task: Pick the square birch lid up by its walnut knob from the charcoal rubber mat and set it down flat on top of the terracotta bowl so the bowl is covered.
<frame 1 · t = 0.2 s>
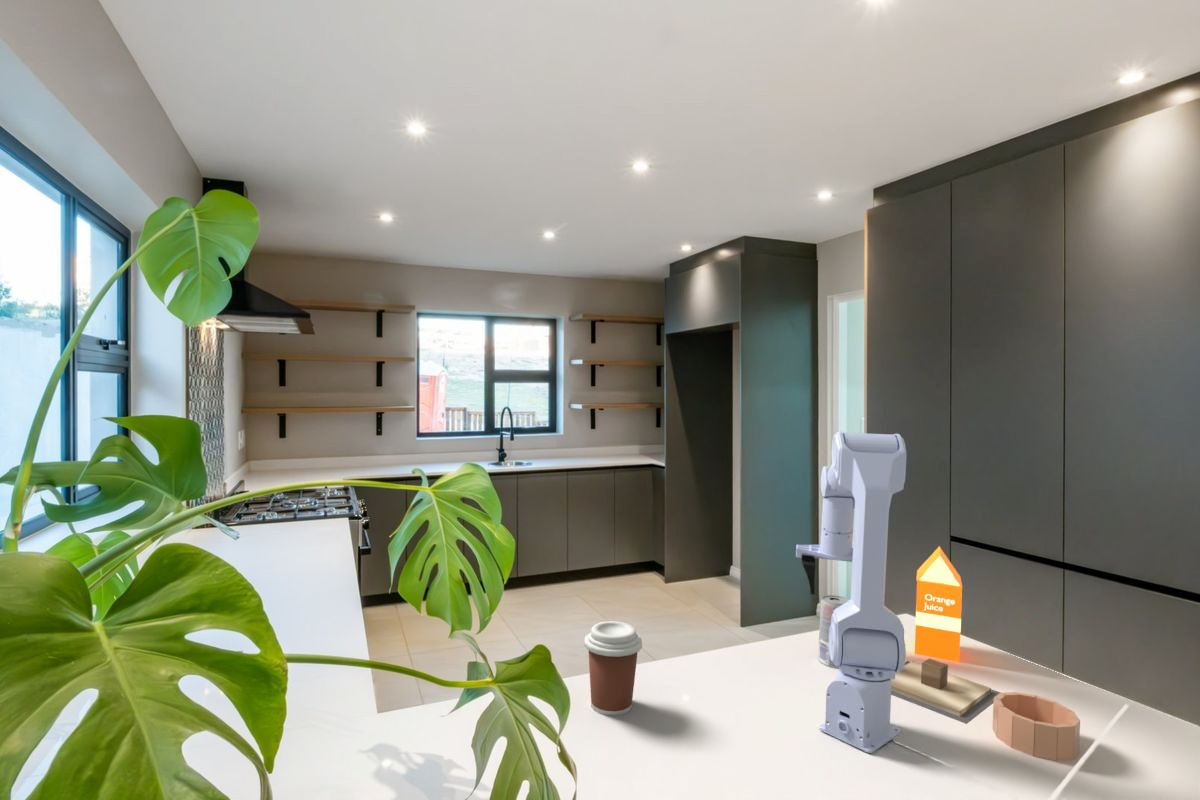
hand: (832, 594, 125), 11 cm above the counter, tool pointing down, fingers open, 7 cm apart
orange juice: (936, 653, 125), on the counter
coffee cup: (611, 706, 100), on the counter
bowl: (1034, 742, 92), on the counter
mat: (933, 691, 108), on the counter
energy drink: (833, 665, 118), on the counter
lid: (933, 688, 108), resting on mat
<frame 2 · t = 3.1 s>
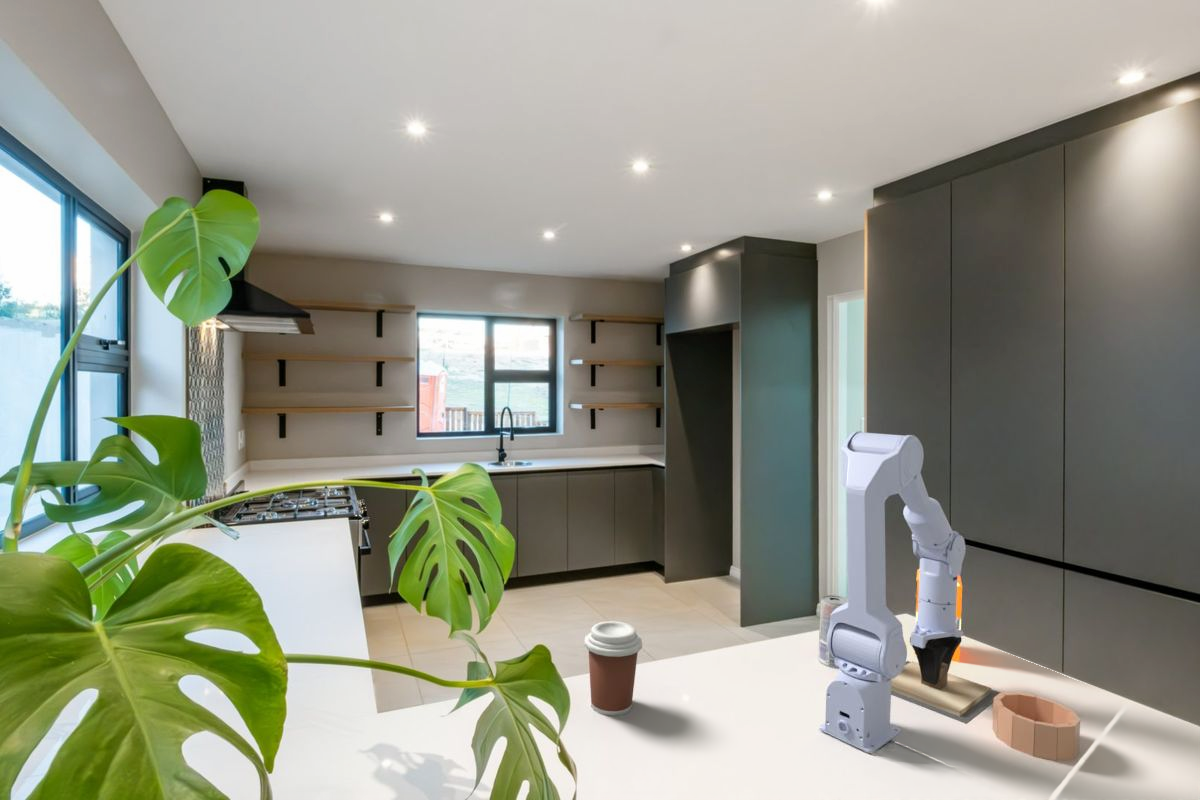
hand: (934, 679, 108), 2 cm above the counter, tool pointing down, fingers closed on lid, 3 cm apart
lid: (933, 688, 108), resting on mat, touching gripper
everything else where it was.
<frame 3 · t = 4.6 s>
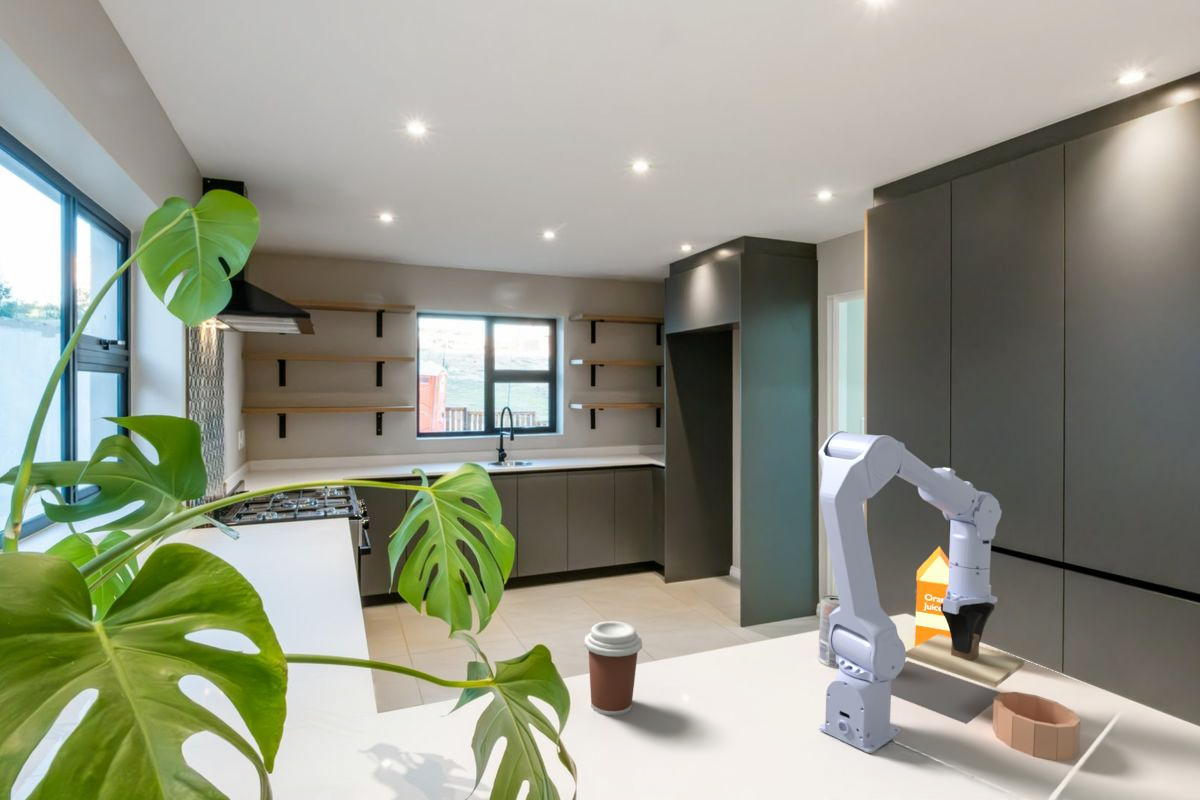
hand: (965, 648, 103), 9 cm above the counter, tool pointing down, fingers closed on lid, 3 cm apart
lid: (964, 660, 103), point 7 cm above the counter, touching gripper
everything else where it was.
when the fingers open (8 cm above the counter, at t = 6.1 s): lid stays where it is, resting on bowl.
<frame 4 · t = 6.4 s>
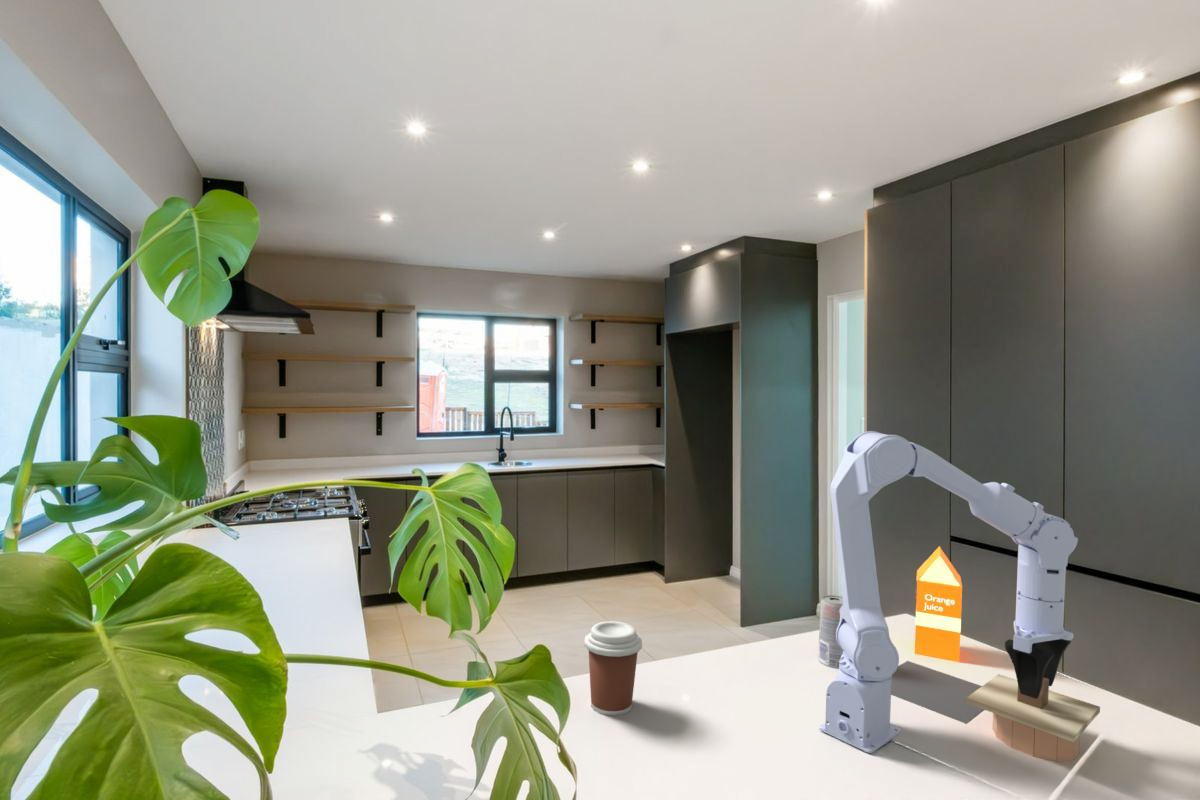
hand: (1036, 689, 92), 8 cm above the counter, tool pointing down, fingers open, 6 cm apart
bowl: (1034, 742, 92), on the counter, touching lid
lid: (1032, 707, 93), point 5 cm above the counter, touching bowl
everything else where it was.
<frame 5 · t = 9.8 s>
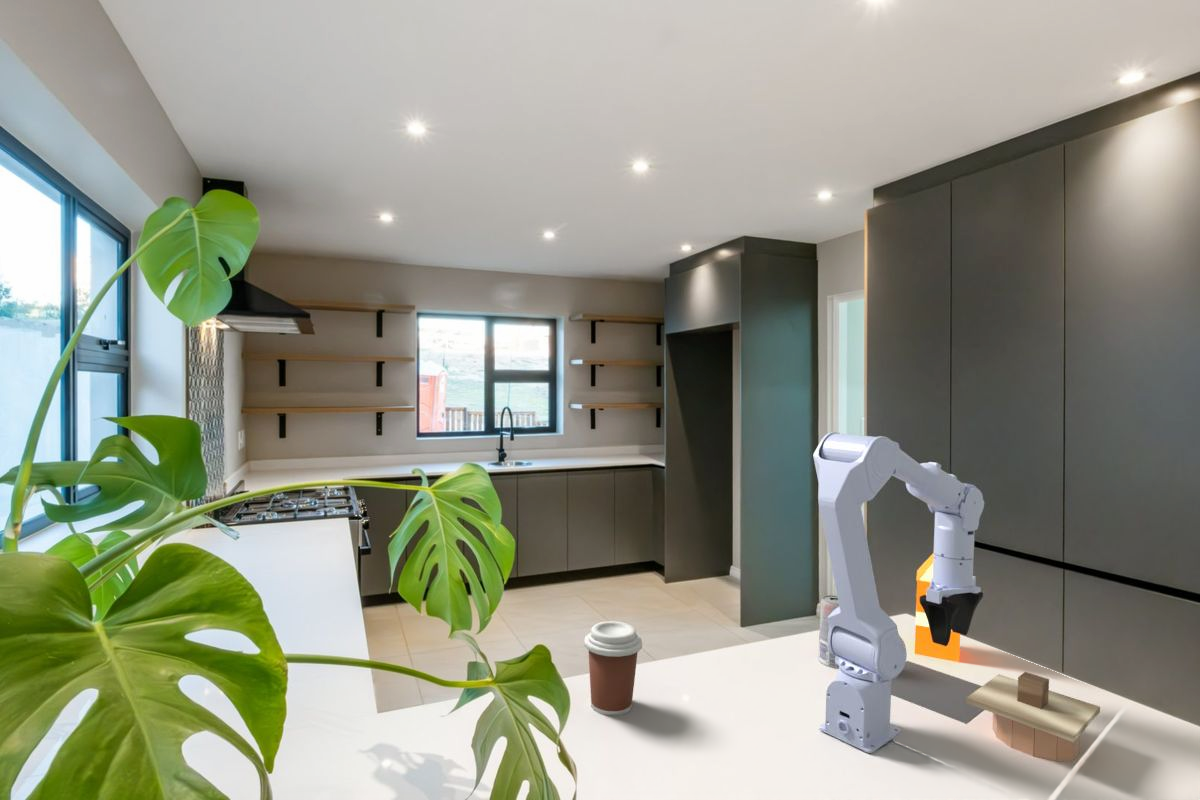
hand: (950, 638, 104), 10 cm above the counter, tool pointing down, fingers open, 7 cm apart
nothing on the counter moved.
at the end: lid 0.4 cm off-centre on the bowl, point 5.0 cm above the bowl's base; lid tilted 0°; the gripper is holding nothing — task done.
